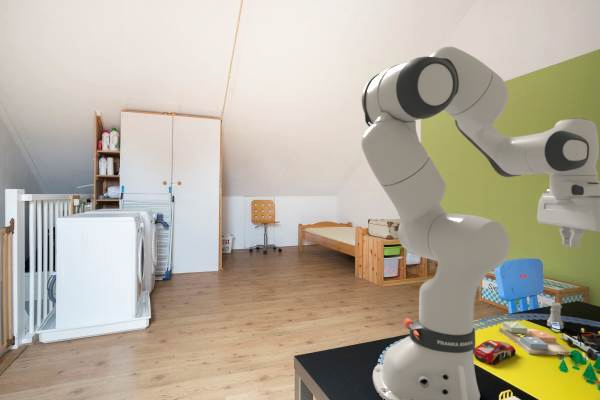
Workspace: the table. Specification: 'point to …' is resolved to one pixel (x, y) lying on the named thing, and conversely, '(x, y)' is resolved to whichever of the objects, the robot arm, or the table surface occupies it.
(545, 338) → the terracotta tile
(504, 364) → the table surface
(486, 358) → the race car
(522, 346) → the birch board
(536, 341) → the slate tile
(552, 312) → the rook chess piece
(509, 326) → the sage tile
